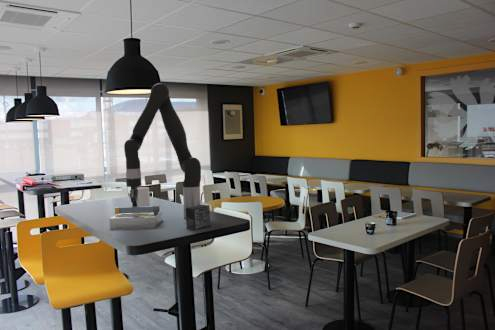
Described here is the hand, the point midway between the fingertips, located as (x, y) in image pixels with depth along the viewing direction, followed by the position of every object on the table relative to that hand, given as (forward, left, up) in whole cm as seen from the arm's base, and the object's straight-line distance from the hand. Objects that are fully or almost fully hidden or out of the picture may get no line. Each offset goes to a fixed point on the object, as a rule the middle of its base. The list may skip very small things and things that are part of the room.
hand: (135, 210), depth 209 cm
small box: (-35, +18, -7) cm, 40 cm away
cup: (+1, -20, -7) cm, 21 cm away
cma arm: (-3, +5, -1) cm, 6 cm away
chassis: (-2, +5, -7) cm, 8 cm away
